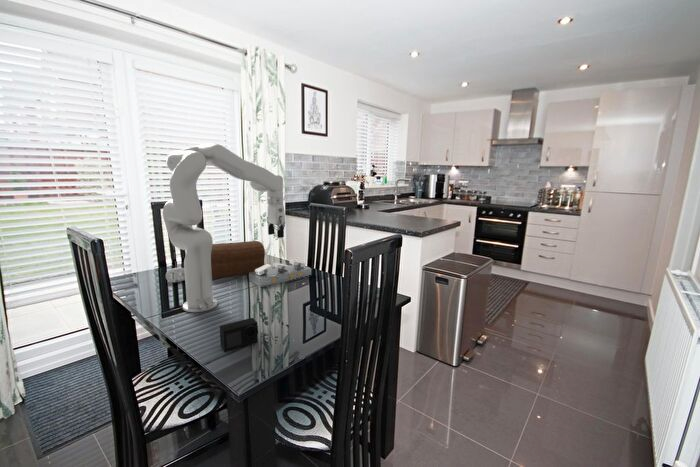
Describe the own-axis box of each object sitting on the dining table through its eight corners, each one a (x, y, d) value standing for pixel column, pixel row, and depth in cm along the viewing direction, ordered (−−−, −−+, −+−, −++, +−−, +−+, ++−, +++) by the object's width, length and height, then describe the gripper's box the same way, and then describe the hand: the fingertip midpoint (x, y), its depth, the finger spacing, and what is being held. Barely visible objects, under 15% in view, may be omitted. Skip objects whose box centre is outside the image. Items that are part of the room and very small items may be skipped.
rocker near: (272, 269, 156) (271, 265, 155) (260, 276, 152) (258, 272, 151) (268, 267, 159) (267, 263, 158) (255, 273, 155) (254, 269, 154)
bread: (201, 270, 171) (199, 241, 168) (257, 264, 185) (256, 237, 182) (205, 281, 155) (203, 249, 152) (265, 273, 170) (265, 244, 167)
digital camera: (225, 354, 94) (224, 332, 92) (220, 346, 98) (219, 325, 96) (259, 344, 100) (258, 323, 98) (253, 337, 104) (252, 317, 103)
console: (311, 275, 167) (311, 266, 166) (260, 287, 148) (259, 277, 147) (299, 270, 176) (299, 261, 175) (249, 280, 157) (248, 270, 157)
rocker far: (304, 267, 168) (305, 263, 168) (293, 265, 163) (294, 261, 163) (299, 265, 171) (300, 261, 171) (288, 263, 167) (289, 259, 167)
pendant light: (192, 278, 157) (186, 218, 152) (179, 284, 148) (172, 221, 143) (175, 277, 159) (168, 218, 153) (161, 283, 150) (153, 220, 144)
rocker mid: (288, 270, 162) (289, 266, 162) (276, 268, 157) (277, 264, 157) (284, 268, 165) (285, 264, 165) (272, 266, 161) (273, 262, 161)
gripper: (291, 202, 149) (291, 238, 153) (273, 199, 162) (274, 232, 165) (277, 203, 145) (277, 239, 148) (260, 199, 157) (261, 233, 161)
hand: (275, 235), depth 157 cm, fingers open, 9 cm apart
